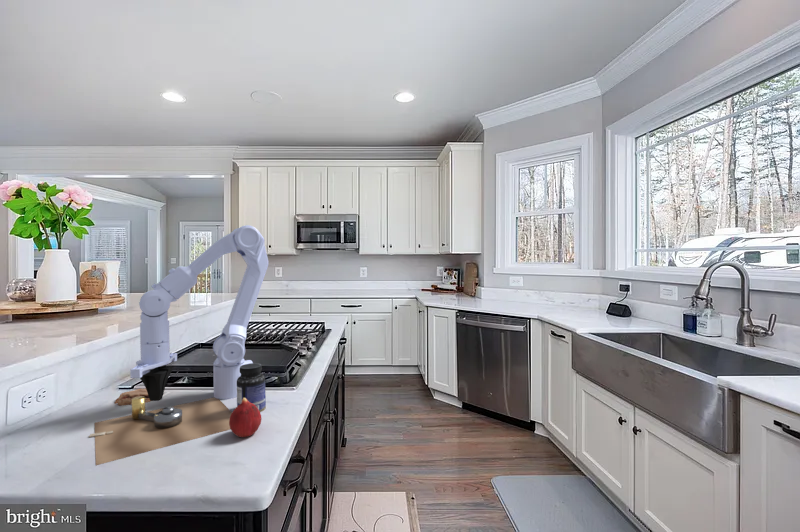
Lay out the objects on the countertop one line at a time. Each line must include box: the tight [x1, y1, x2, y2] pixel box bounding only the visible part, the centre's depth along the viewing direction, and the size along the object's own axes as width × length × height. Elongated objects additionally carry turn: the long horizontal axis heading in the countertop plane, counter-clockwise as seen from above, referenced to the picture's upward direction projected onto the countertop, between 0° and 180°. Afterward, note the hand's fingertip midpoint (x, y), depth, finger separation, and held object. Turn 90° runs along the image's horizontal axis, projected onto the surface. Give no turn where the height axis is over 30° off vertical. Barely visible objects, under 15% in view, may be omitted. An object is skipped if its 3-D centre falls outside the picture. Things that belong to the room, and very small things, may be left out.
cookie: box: [114, 387, 151, 407], centre depth 96 cm, size 10×11×3 cm
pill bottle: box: [236, 362, 267, 413], centre depth 88 cm, size 6×6×11 cm
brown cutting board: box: [88, 396, 233, 466], centre depth 80 cm, size 25×22×1 cm
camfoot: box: [131, 396, 182, 428], centre depth 82 cm, size 13×5×4 cm, turn 69°
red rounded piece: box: [229, 398, 262, 438], centre depth 75 cm, size 6×6×8 cm
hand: (156, 399), depth 90 cm, fingers closed
